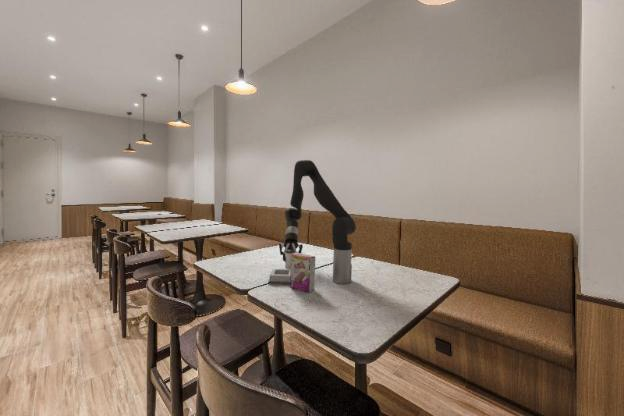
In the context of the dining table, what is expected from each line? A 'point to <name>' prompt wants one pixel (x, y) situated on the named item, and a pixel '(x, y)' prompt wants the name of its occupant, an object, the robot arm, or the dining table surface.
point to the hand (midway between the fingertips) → (289, 260)
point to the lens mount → (280, 276)
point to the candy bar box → (302, 272)
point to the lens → (288, 258)
